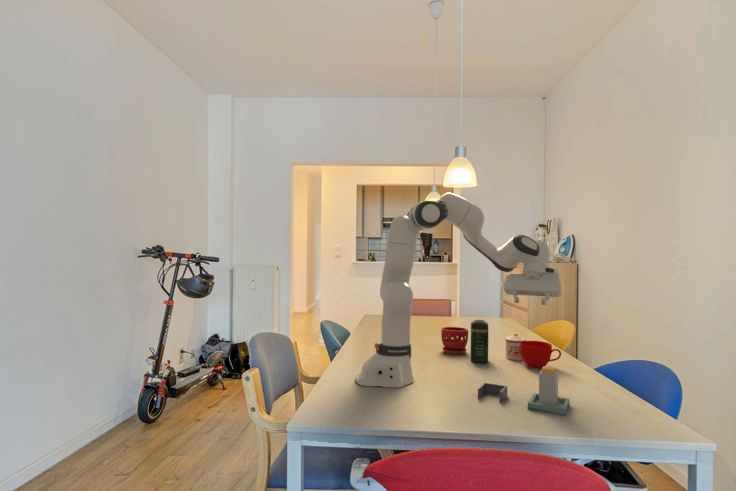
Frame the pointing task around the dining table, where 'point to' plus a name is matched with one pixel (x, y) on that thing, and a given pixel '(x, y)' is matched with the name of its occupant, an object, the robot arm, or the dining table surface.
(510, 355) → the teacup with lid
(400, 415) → the dining table surface
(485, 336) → the coffee jar
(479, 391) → the bay
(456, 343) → the plant pot
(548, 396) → the grey pillar orange cap
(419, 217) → the robot arm
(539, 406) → the tray
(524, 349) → the ceramic cup
